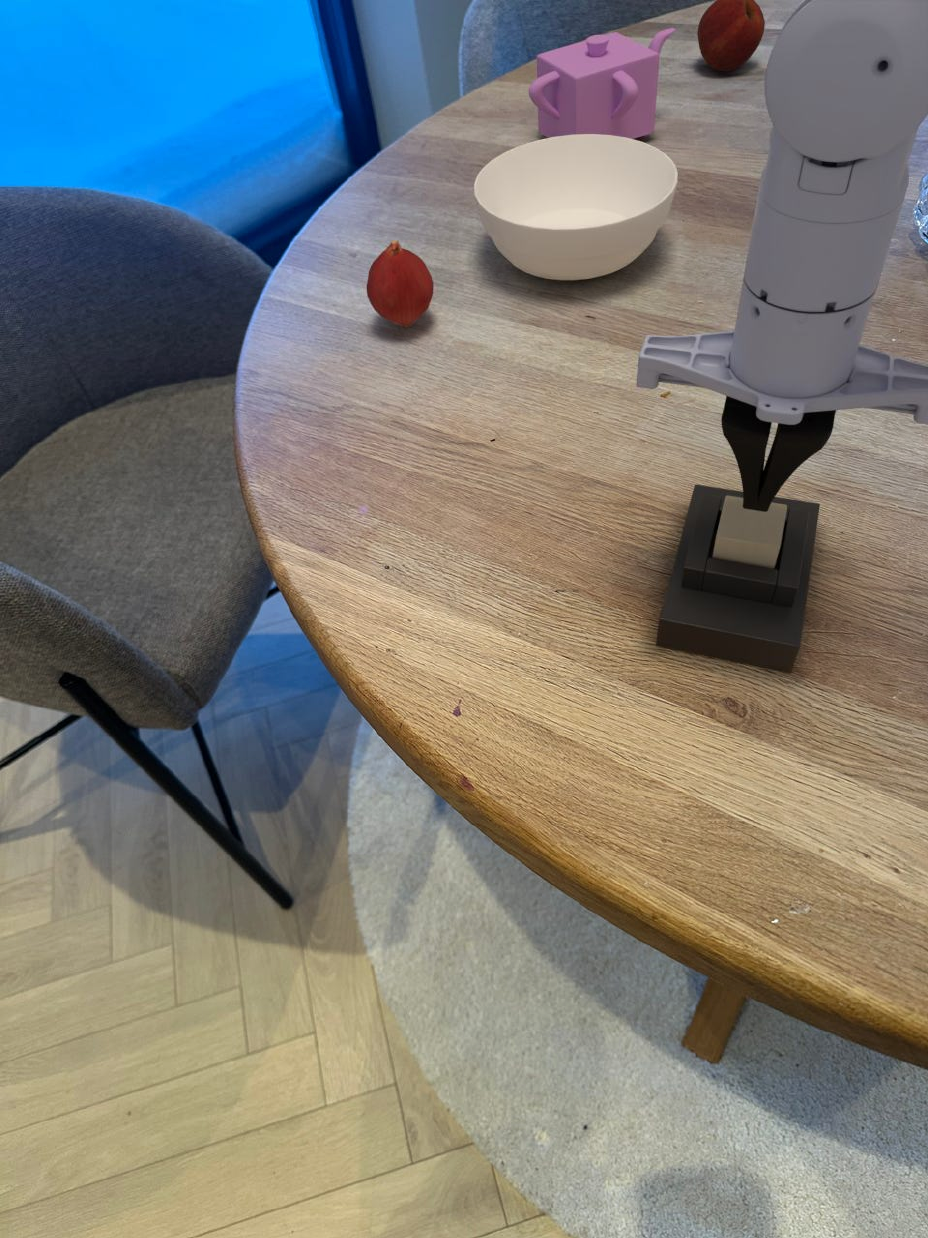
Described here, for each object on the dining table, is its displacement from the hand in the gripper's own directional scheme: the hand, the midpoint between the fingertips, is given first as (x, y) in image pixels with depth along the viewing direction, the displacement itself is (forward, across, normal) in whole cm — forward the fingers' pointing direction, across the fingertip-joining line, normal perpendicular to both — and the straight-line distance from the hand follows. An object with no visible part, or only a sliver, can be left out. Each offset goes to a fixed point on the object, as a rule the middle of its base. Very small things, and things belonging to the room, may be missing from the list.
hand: (757, 498), depth 49 cm
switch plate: (+8, 0, 0) cm, 8 cm away
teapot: (+8, -24, +63) cm, 68 cm away
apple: (+8, -14, +84) cm, 86 cm away
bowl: (+8, -21, +38) cm, 44 cm away
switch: (+4, 0, 0) cm, 4 cm away
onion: (+8, -33, +24) cm, 41 cm away
